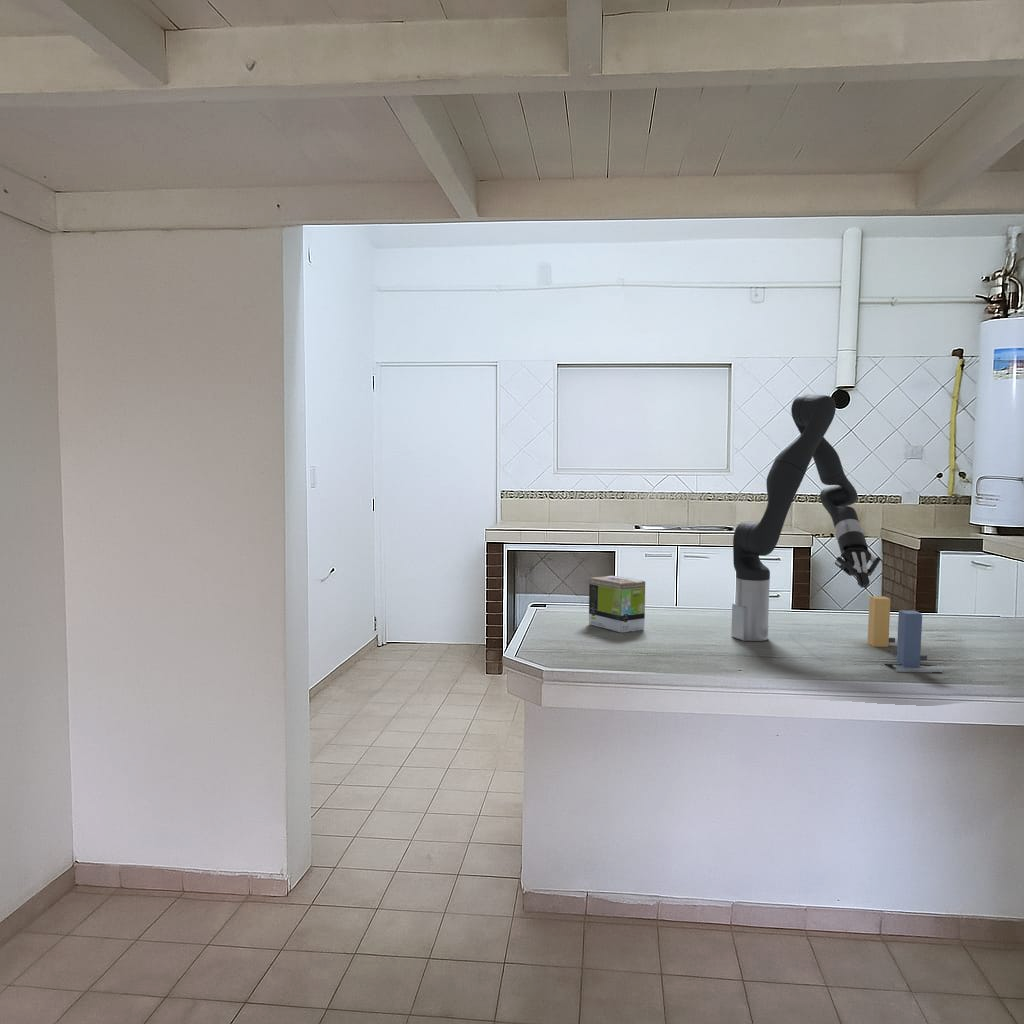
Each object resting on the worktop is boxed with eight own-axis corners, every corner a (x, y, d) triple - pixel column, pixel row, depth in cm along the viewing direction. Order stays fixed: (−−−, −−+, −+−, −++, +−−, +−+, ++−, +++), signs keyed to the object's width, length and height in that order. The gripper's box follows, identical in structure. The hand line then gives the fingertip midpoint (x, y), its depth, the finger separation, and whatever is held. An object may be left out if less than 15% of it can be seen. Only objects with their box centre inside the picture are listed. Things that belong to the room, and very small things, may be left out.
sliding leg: (897, 647, 225) (899, 599, 224) (873, 646, 225) (875, 598, 224) (891, 643, 229) (893, 596, 228) (867, 643, 229) (869, 596, 228)
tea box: (645, 629, 249) (646, 580, 248) (620, 633, 244) (621, 583, 242) (612, 621, 262) (613, 574, 261) (587, 624, 256) (588, 576, 255)
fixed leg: (929, 666, 206) (932, 614, 205) (903, 665, 206) (905, 613, 205) (922, 662, 210) (924, 610, 209) (896, 661, 210) (898, 610, 209)
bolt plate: (942, 672, 204) (942, 668, 204) (896, 671, 204) (896, 667, 204) (897, 647, 230) (897, 643, 230) (856, 646, 230) (856, 642, 230)
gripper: (831, 529, 245) (844, 578, 234) (877, 530, 245) (893, 578, 233) (824, 545, 251) (837, 593, 240) (869, 546, 250) (884, 593, 239)
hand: (864, 586), depth 236 cm, fingers closed
